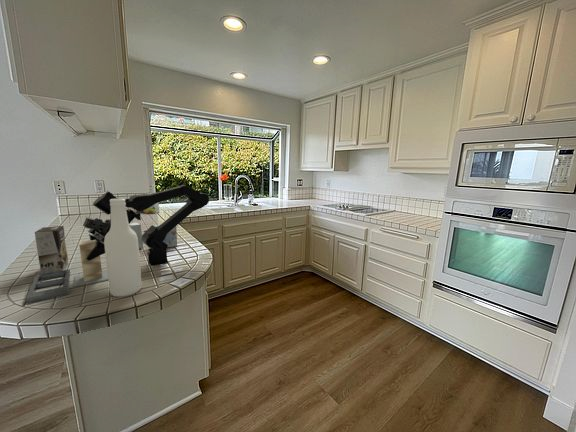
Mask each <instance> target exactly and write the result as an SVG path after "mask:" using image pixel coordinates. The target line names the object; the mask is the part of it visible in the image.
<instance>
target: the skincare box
mask: <svg viewBox="0 0 576 432" xmlns="http://www.w3.org/2000/svg"><path fill="white" fill-rule="evenodd" d="M129 226H130V228H131V229H132V230H133V231H134V232H135V233H136V235H137V237H138V246H139V250H141V249H144V243H143V241H142V235H143V233H142V224H140V223H138V222H130V223H129Z"/></svg>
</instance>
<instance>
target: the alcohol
mask: <svg viewBox="0 0 576 432" xmlns="http://www.w3.org/2000/svg"><path fill="white" fill-rule="evenodd" d="M125 199H126V198H118V199H111V200H110V206H111V214H110V219H111V228H110V230H109V232H108V233H107V234H106V236H105V239H104V246H105V253H104V254H105V261H106V262H105V263H106V264H105V265H106V270H107V273H108V280H107V281H108V289H109V294H110V295H111V296H114V297H115V298H116V297H117V298H122V297H124V298H125V297H128V296H132V295H134V294H136V293H138V292H139V291H140V290H141V288H142V286H143V283H142V271H141V270H142V269H141V259H140V249H139V246H138V237H137V235H136V233H135V232H134V231H133V230H132V229H131V228H130V226H129V224H130V223H128V217H127V212H126V210H127V207H126V206H125V205H126V203H125Z"/></svg>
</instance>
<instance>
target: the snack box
mask: <svg viewBox="0 0 576 432" xmlns="http://www.w3.org/2000/svg"><path fill="white" fill-rule="evenodd" d="M159 203H160V202H158V203H156V204H154V205H153V206H151V207H150V208H147V209H145V210H143V211H137V210H136V213H147V214H155V215H156V214H159V213H160V204H159Z"/></svg>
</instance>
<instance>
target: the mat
mask: <svg viewBox="0 0 576 432" xmlns="http://www.w3.org/2000/svg"><path fill="white" fill-rule="evenodd" d="M102 277H103V278H98V279H94V280H89V281H84V275H83V274H81V273H80V274H77V275H76V274H75V275H74V288H77V287H82V286H86V285H91V284H96V283H100V282H105V281H106V282H107V281H108V273H107V269H105V270H104V269H103V270H102Z"/></svg>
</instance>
